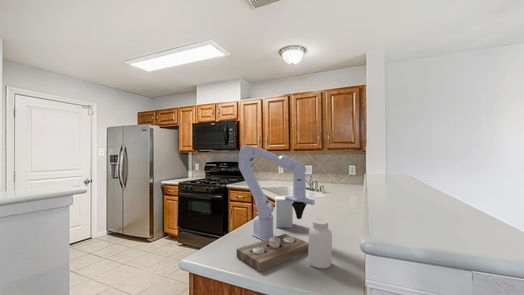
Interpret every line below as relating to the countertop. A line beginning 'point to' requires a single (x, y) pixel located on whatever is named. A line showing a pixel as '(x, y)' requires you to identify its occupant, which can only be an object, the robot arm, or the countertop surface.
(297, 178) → the robot arm
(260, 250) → the outer knob
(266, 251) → the knob board
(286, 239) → the outer knob
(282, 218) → the supplement box
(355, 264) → the countertop surface
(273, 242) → the middle knob
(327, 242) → the pill bottle
